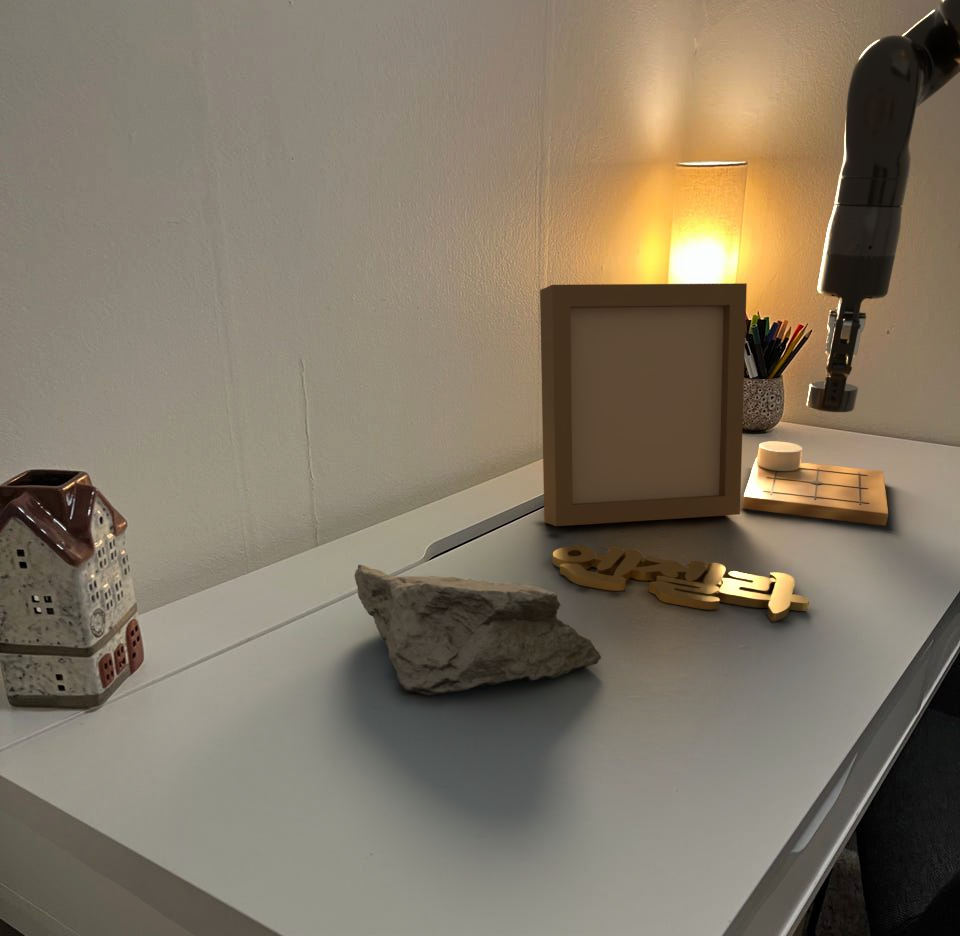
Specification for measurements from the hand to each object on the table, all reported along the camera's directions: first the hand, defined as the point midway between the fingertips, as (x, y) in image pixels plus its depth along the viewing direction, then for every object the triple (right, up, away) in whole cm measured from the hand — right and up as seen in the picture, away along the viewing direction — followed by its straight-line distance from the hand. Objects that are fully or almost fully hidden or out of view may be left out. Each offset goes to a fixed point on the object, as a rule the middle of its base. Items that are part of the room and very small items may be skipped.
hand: (831, 403), depth 113 cm
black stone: (0, 0, 0) cm, 0 cm away
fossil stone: (-43, -30, -36) cm, 64 cm away
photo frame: (-25, -13, -1) cm, 28 cm away
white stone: (-3, -5, +11) cm, 13 cm away
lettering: (-23, -23, -21) cm, 39 cm away
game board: (0, -10, +5) cm, 11 cm away
